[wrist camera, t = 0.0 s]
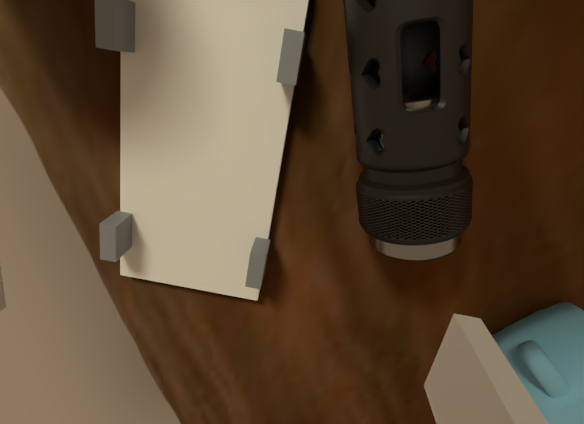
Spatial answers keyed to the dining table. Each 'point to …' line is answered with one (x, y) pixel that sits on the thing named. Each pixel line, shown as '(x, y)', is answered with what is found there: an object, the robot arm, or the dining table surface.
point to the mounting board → (200, 135)
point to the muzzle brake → (411, 122)
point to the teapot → (549, 360)
